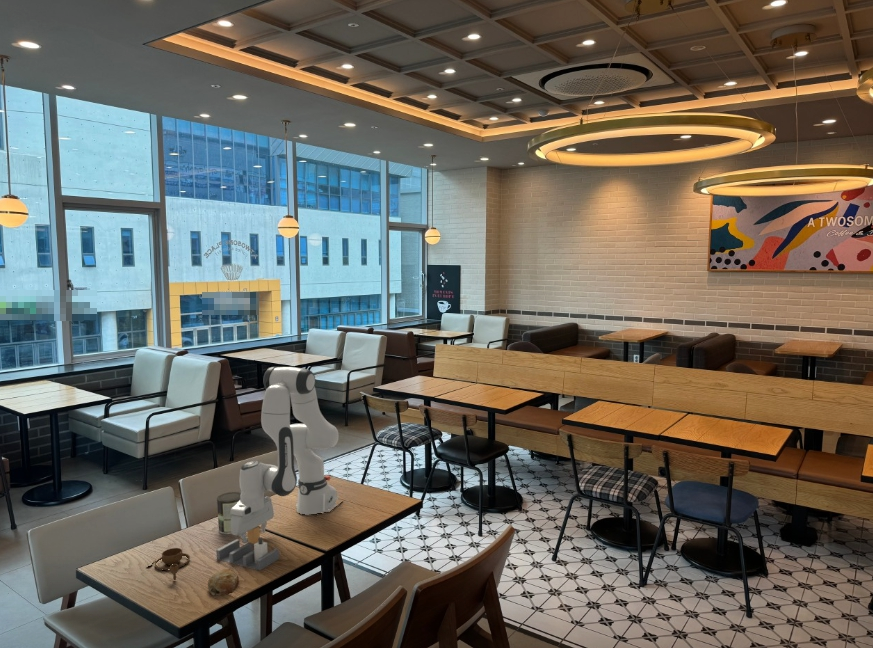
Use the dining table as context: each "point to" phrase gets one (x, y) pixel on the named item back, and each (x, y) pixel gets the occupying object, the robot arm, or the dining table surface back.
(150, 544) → the dining table surface
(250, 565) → the rack
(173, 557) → the place setting
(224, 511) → the coffee can
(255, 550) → the white plug
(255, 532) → the orange plug
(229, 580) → the bread roll
